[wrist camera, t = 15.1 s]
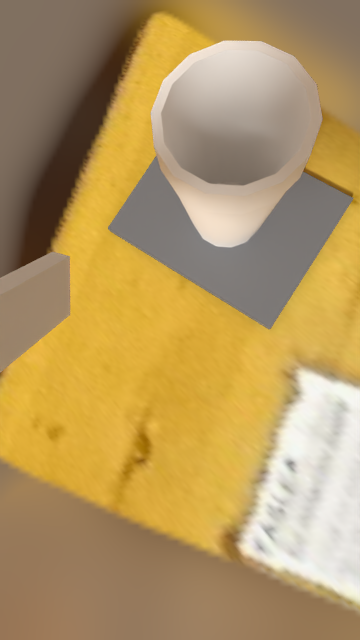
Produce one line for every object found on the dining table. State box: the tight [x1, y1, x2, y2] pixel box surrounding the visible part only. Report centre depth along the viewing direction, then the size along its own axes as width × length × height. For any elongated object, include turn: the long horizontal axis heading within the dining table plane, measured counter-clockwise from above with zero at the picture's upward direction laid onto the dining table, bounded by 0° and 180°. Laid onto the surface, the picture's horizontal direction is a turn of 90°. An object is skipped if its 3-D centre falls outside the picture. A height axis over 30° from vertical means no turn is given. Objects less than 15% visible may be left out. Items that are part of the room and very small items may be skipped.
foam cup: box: [151, 41, 323, 248], centre depth 25 cm, size 10×9×13 cm
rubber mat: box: [108, 156, 353, 329], centre depth 32 cm, size 18×14×1 cm
